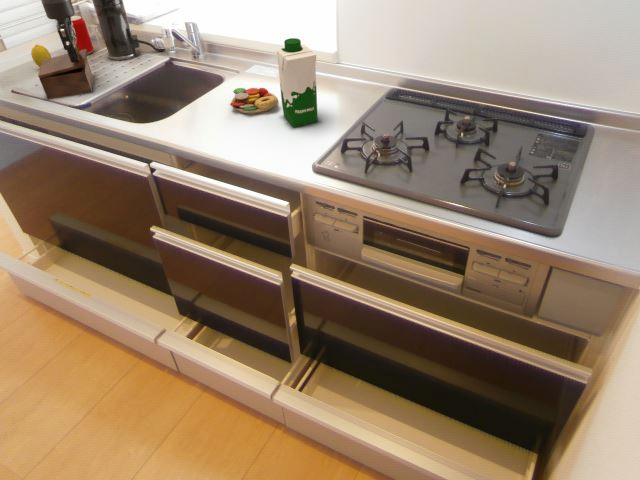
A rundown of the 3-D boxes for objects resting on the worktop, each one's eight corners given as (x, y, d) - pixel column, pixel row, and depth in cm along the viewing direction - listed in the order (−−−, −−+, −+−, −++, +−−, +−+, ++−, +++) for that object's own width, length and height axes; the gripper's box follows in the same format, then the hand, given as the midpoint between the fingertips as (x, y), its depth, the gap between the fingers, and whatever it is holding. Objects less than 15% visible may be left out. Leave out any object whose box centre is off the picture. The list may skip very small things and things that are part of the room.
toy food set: (280, 112, 138) (279, 101, 136) (232, 119, 137) (230, 107, 135) (274, 92, 148) (273, 82, 146) (229, 98, 147) (227, 87, 145)
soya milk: (309, 109, 139) (305, 35, 127) (322, 122, 133) (319, 46, 120) (279, 116, 137) (272, 41, 124) (291, 130, 131) (285, 52, 118)
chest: (93, 76, 163) (86, 56, 159) (91, 92, 154) (84, 72, 149) (51, 82, 161) (43, 62, 156) (47, 99, 151) (39, 78, 147)
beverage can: (78, 50, 182) (66, 15, 174) (96, 49, 182) (85, 14, 174) (74, 56, 177) (61, 21, 169) (92, 55, 177) (80, 19, 170)
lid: (87, 51, 158) (78, 32, 154) (85, 66, 149) (76, 46, 145) (44, 62, 156) (34, 44, 153) (39, 78, 147) (28, 59, 143)
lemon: (50, 71, 167) (41, 47, 162) (34, 72, 168) (24, 47, 162) (57, 65, 172) (48, 41, 166) (41, 65, 172) (32, 41, 167)
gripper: (68, 3, 137) (88, 64, 148) (71, -10, 148) (89, 48, 158) (38, 7, 135) (60, 68, 146) (43, -7, 146) (64, 51, 157)
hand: (75, 57), depth 152 cm, fingers closed on lid, 6 cm apart
